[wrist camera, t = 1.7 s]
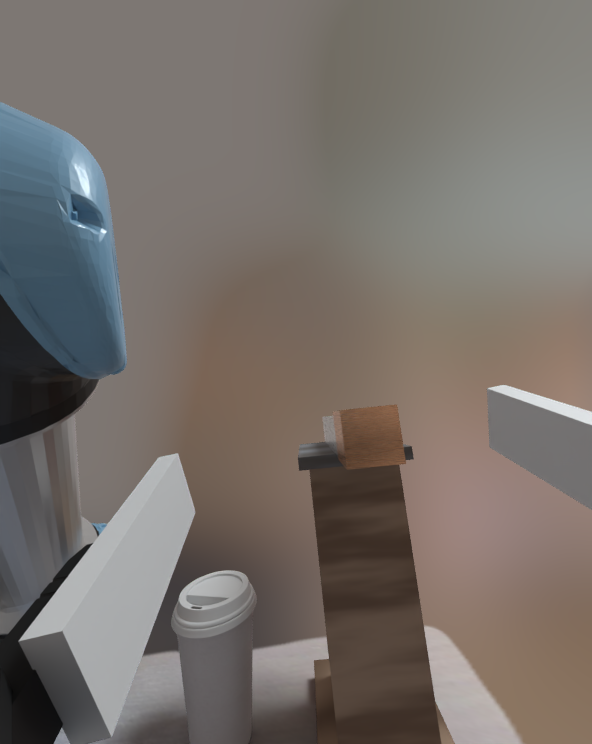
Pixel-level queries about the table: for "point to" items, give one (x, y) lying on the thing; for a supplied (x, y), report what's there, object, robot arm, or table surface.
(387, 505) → the post
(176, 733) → the table surface
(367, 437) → the wood grain block
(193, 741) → the coffee cup
